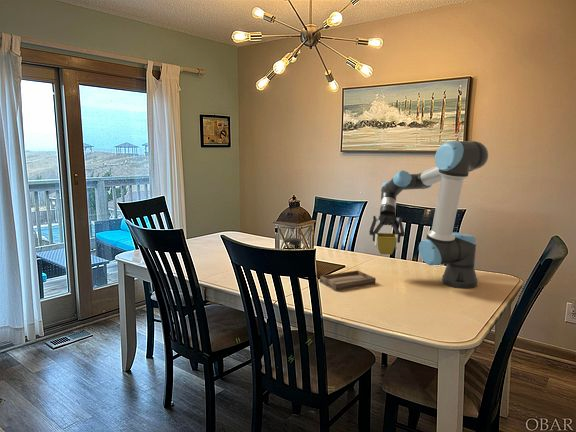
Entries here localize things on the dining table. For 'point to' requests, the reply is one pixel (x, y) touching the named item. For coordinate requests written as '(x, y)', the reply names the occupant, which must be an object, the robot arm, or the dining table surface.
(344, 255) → the dining table surface
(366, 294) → the dining table surface
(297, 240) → the french press
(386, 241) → the flower pot
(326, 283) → the walnut tray
